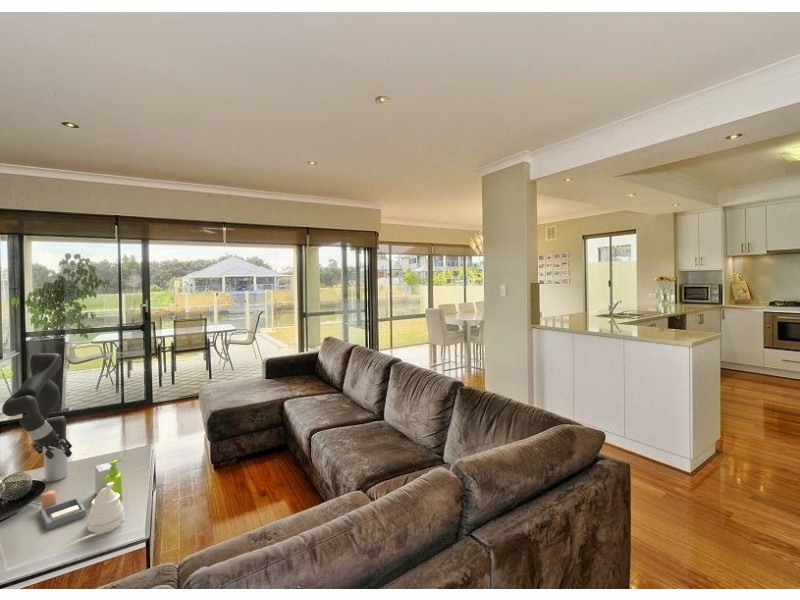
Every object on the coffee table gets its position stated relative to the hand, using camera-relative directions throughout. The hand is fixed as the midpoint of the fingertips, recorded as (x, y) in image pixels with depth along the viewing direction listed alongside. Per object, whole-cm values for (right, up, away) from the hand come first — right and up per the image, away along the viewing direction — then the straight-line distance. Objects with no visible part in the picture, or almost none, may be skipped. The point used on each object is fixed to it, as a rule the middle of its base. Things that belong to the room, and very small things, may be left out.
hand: (60, 456), depth 180 cm
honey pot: (+29, -26, -10) cm, 40 cm away
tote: (+7, -25, -6) cm, 27 cm away
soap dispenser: (+20, -25, +7) cm, 33 cm away
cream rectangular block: (+10, -24, -9) cm, 28 cm away
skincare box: (+11, -24, +12) cm, 30 cm away
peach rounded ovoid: (-5, -25, 0) cm, 25 cm away
